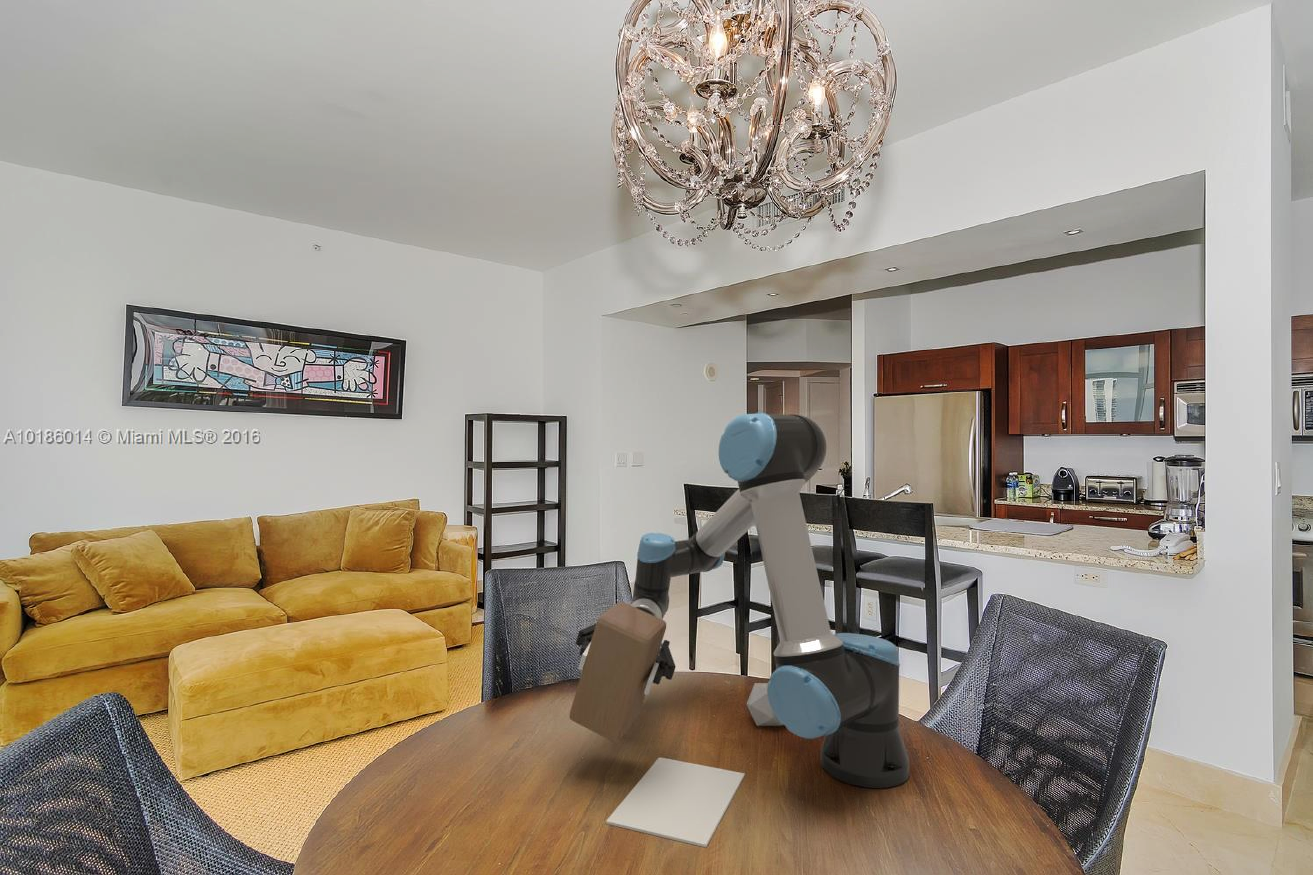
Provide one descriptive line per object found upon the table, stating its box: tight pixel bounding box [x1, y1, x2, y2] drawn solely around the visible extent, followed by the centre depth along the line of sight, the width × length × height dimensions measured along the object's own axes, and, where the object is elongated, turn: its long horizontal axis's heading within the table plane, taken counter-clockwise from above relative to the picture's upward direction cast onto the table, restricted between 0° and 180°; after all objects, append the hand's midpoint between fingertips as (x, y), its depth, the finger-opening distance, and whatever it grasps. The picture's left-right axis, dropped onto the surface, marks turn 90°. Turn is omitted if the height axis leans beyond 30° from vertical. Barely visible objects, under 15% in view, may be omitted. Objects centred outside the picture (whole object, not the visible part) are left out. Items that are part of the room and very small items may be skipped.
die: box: [746, 682, 783, 727], centre depth 138 cm, size 8×9×10 cm
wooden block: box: [569, 601, 667, 743], centre depth 117 cm, size 10×10×20 cm
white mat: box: [605, 756, 745, 848], centre depth 109 cm, size 16×22×1 cm
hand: (615, 674), depth 113 cm, fingers closed on wooden block, 11 cm apart
